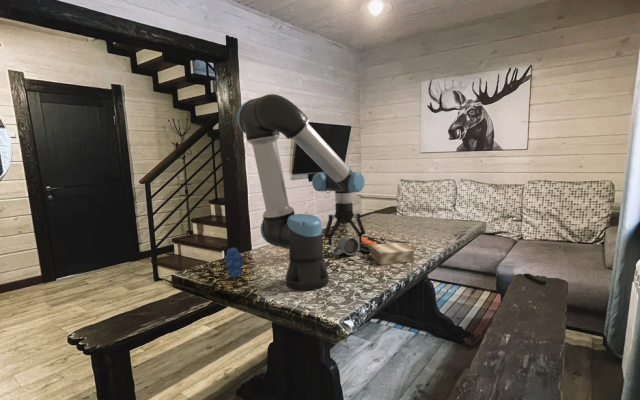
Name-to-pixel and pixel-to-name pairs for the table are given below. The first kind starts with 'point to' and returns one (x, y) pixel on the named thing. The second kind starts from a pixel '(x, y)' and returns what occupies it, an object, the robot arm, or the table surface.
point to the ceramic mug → (347, 246)
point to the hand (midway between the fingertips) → (345, 251)
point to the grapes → (234, 262)
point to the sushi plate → (370, 243)
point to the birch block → (391, 253)
